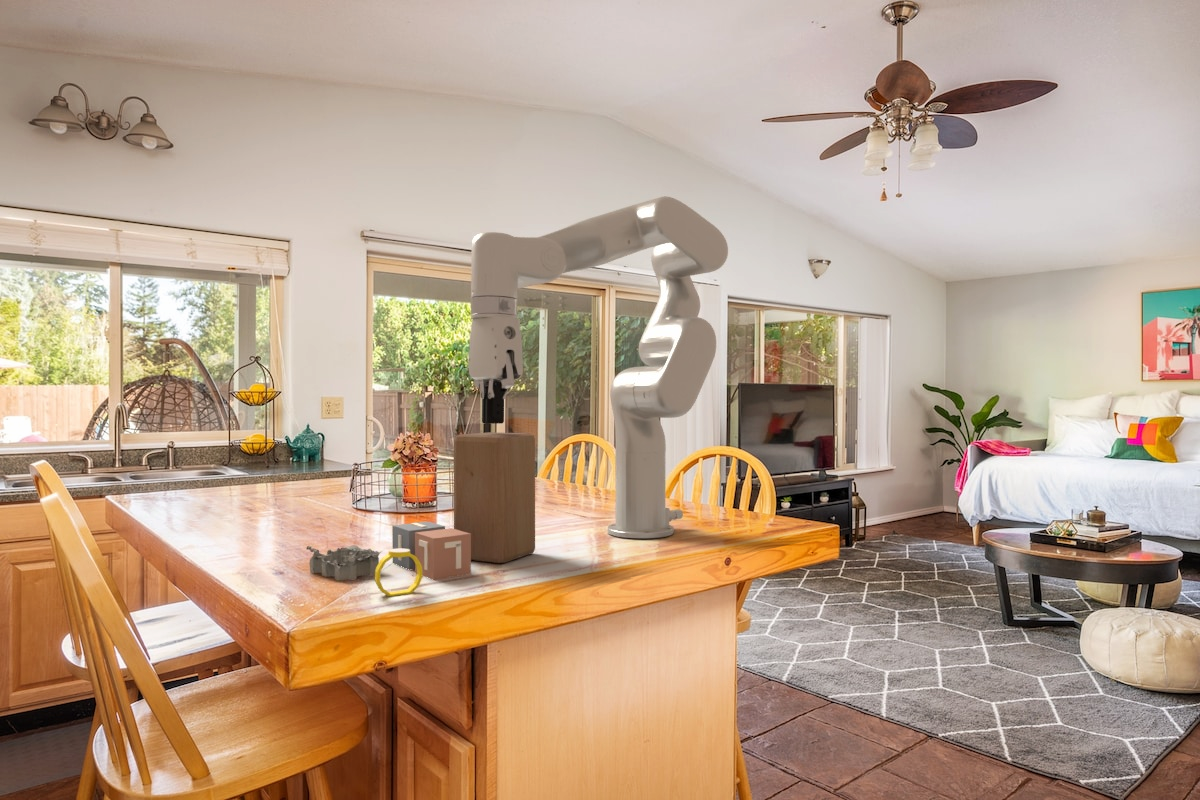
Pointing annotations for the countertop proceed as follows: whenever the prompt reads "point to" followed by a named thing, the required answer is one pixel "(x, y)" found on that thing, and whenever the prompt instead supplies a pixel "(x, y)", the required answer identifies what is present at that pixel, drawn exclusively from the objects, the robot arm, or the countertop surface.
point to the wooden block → (495, 494)
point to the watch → (398, 553)
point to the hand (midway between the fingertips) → (492, 423)
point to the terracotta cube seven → (443, 553)
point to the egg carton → (344, 562)
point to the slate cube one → (409, 539)
